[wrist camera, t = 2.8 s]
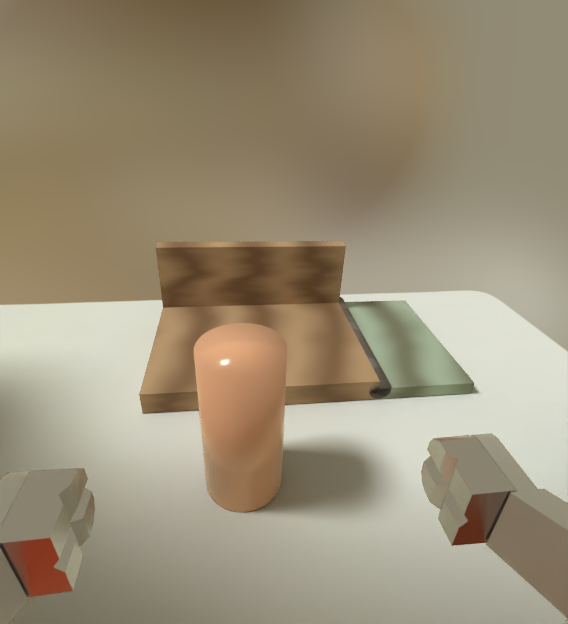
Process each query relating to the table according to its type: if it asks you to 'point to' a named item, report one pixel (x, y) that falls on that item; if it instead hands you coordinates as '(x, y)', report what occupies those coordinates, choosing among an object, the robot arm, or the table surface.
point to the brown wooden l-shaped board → (290, 325)
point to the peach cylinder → (242, 412)
